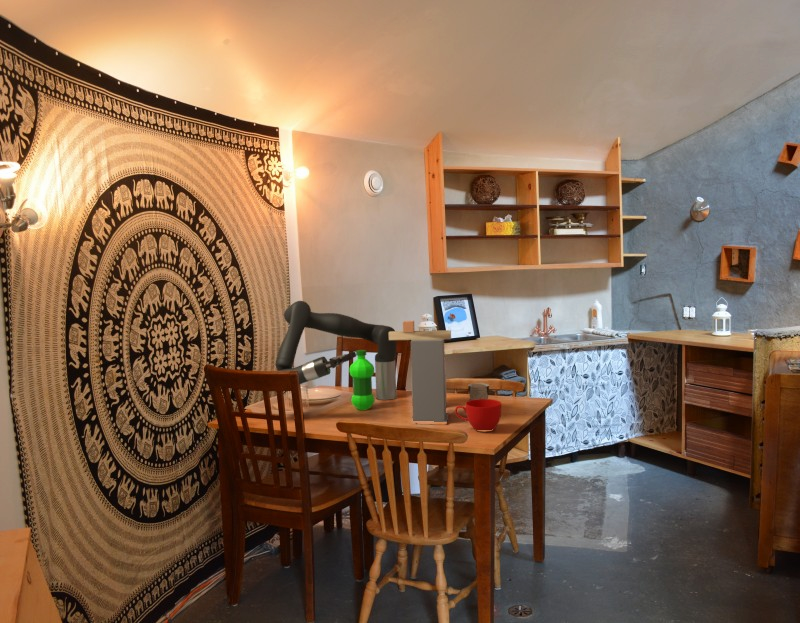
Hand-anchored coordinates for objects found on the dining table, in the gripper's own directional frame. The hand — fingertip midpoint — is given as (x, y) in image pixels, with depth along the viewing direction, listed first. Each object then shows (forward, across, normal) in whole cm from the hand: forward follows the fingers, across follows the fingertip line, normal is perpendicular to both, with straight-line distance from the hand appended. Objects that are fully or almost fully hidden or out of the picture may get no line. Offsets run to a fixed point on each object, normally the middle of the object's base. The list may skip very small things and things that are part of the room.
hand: (353, 355), depth 247 cm
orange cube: (+24, -1, -1) cm, 24 cm away
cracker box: (+18, +24, +33) cm, 44 cm away
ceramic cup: (+37, -14, +41) cm, 57 cm away
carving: (+37, +8, +40) cm, 56 cm away
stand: (+19, +1, +34) cm, 39 cm away
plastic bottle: (-8, +19, +24) cm, 32 cm away
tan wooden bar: (+27, -1, +3) cm, 27 cm away
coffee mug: (+38, +19, +40) cm, 58 cm away
